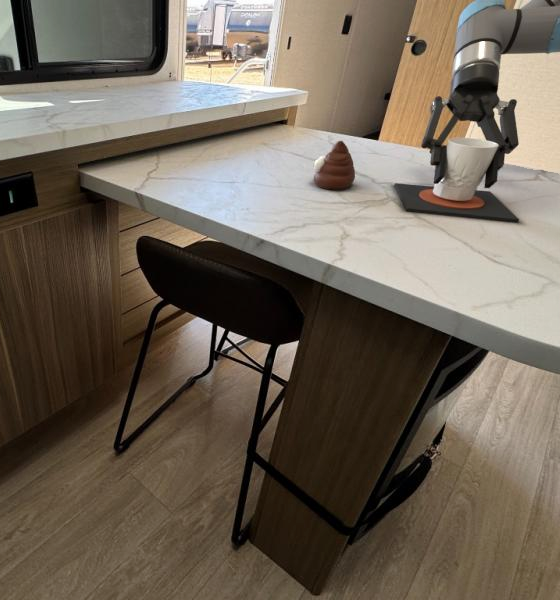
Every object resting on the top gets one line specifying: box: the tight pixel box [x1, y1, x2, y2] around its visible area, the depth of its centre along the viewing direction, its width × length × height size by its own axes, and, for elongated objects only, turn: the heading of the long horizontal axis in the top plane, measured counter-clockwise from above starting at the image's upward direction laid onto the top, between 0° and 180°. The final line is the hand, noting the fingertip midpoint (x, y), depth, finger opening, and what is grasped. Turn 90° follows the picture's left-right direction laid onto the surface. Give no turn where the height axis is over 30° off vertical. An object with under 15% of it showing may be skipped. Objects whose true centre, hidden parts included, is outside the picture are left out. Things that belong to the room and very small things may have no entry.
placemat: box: [393, 182, 520, 223], centre depth 82 cm, size 18×16×1 cm
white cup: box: [433, 137, 499, 201], centre depth 79 cm, size 8×8×10 cm
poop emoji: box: [313, 140, 356, 191], centre depth 89 cm, size 10×8×9 cm
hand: (464, 182), depth 77 cm, fingers closed on white cup, 8 cm apart
